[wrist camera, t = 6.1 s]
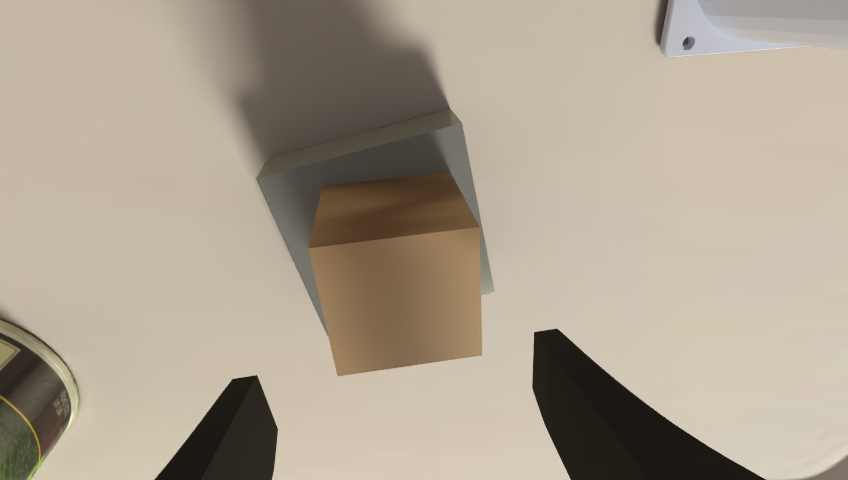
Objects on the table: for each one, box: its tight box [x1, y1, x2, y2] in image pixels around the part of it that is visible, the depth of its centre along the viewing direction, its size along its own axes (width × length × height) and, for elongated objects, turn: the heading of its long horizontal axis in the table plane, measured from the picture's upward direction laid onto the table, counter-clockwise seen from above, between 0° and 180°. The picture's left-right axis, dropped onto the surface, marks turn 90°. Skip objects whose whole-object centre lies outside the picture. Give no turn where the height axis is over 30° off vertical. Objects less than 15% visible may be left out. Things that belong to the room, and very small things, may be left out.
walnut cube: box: [308, 172, 482, 376], centre depth 16 cm, size 5×5×5 cm
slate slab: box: [256, 109, 494, 336], centre depth 20 cm, size 8×8×3 cm
